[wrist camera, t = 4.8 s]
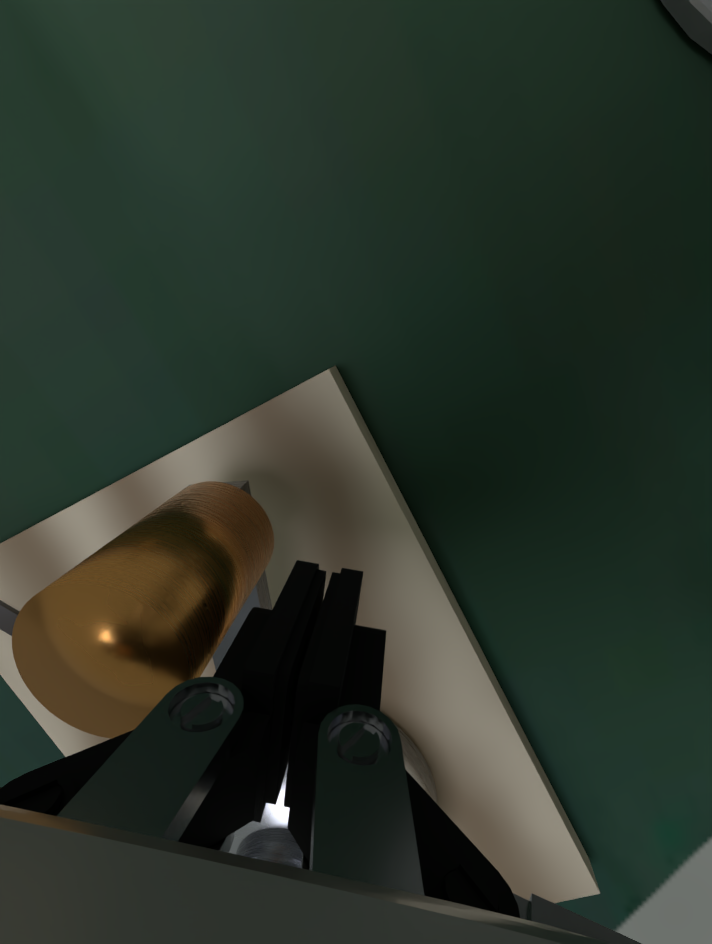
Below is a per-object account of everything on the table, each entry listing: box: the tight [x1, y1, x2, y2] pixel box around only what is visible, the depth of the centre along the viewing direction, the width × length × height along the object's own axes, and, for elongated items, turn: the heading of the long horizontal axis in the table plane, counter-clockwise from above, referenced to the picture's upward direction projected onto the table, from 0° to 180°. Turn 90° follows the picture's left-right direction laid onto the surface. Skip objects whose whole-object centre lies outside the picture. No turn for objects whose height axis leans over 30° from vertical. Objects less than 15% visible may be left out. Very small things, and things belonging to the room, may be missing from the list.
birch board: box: [0, 365, 600, 903], centre depth 22 cm, size 20×26×2 cm
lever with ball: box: [12, 480, 437, 868], centre depth 16 cm, size 22×12×9 cm, turn 6°
